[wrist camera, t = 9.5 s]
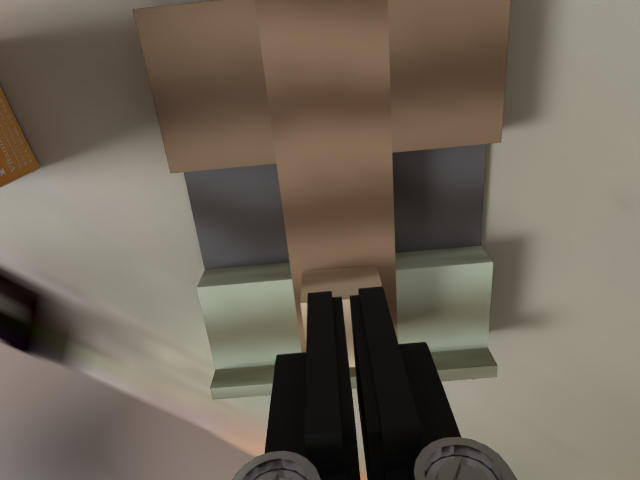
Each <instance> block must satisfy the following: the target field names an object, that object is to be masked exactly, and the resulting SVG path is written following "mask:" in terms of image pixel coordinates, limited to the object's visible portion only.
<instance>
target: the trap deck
mask: <svg viewBox="0 0 640 480" xmlns="http://www.w3.org/2000/svg"><path fill="white" fill-rule="evenodd" d="M510 1H511V0H217V1H208V2H198V3H188V4H179V5H169V6H160V7H150V8H140V9H133V13H134V17H135V21H136V26H137V30H138V34H139V39H140V43H141V47H142V52H143V56H144V60H145V65H146V69H147V74H148V78H149V82H150V87H151V91H152V95H153V100H154V104H155V108H156V113H157V117H158V121H159V126H160V130H161V134H162V139H163V143H164V147H165V152H166V156H167V161H168V165H169V169H170V173H180V172H184V176H185V180H186V185H187V189H188V194H189V199H190V203H191V208H192V212H193V217H194V222H195V226H196V231H197V235H198V240H199V245H200V249H201V254H202V258H203V263H204V268H205V271H204V273H203V275H202V277H201V279H200V281H199V284H198V286H197V291H198V295H199V300H200V304H201V308H202V313H203V317H204V321H205V326H206V330H207V335H208V339H209V343H210V348H211V352H212V356H213V361H214V365H215V369H216V370H215V373H214V377H213V380H212V384H211V387H210V391H211V395H212V399H213V400H214V399H226V398H239V397H251V396H264V395H271V394H272V385H273V377H274V368H275V360H276V356H277V355H278V354H290V353H302V352H306V344H305V336H304V328H303V320H302V312H301V304H300V301H301V282H302V272H303V271H315V270H327V269H338V268H350V267H361V266H373V265H377V268H378V272H379V276H380V279H381V283H382V286H383V288H384V292H385V296H386V299H387V303H388V307H389V311H390V314H391V318H392V322H393V325H394V329H395V333H396V337H397V340H398V344H406V343H417V342H426V343H427V345H428V347H429V349H430V352H431V355H432V358H433V361H434V363H435V366H436V369H437V372H438V374H439V377H440V380H441V381H453V380H466V379H478V378H491V377H497V366H498V365H497V364H496V362H495V360H494V358H493V356H492V355H491V353H490V351H489V349H488V335H489V320H490V305H491V290H492V275H493V261H492V260H491V258H490V257H489V256H488V254H487V253H486V252H485V251H484V249H483V248H482V247H481V230H482V211H483V192H484V173H485V154H486V144H490V143H501V138H502V123H503V108H504V92H505V77H506V62H507V47H508V32H509V17H510ZM349 369H350V379H351V388H357V382H356V370H355V367H349Z"/></svg>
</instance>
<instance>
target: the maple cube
mask: <svg viewBox="0 0 640 480" xmlns="http://www.w3.org/2000/svg"><path fill="white" fill-rule="evenodd" d="M380 286H382V283H381V279H380V276H379V272H378V268H377V265H373V266H361V267H350V268H338V269H327V270H315V271H303V272H302V282H301V301H300V304H301V312H302V320H303V328H304V336H305V344H306V339H307V295H308V293H313V292H324V291H332V297H341V296H342V303H343V312H344V322H345V331H346V341H347V350H348V360H349V367H355V358H354V346H353V333H352V321H351V309H350V296H352V295H359V294H358V288H369V287H380Z"/></svg>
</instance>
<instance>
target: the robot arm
mask: <svg viewBox="0 0 640 480" xmlns="http://www.w3.org/2000/svg"><path fill="white" fill-rule="evenodd" d="M358 294H359V295H352V296H350V309H351V321H352V333H353V346H354V358H355V370H356V382H357V394H358V404H359V412H360V421H361V429H362V437H363V446H364V454H365V462H366V471H367V479H368V480H517V478H516V477H515V475H514V474H513V472H512V470H511V469H510V467H509V466H508V465H507V463H506V462H505V461H504V460H503V459H502V457H501V456H500V455H499V454H498V453H496V452H495V451H494V450H492V449H491V448H489V447H488V446H487V445H485V444H482V443H480V442H477V441H475V440H472V439H467V438H461V435H460V433H459V430H458V427H457V424H456V421H455V419H454V416H453V413H452V410H451V408H450V405H449V402H448V399H447V397H446V394H445V391H444V388H443V385H442V383H441V380H440V377H439V374H438V372H437V369H436V366H435V363H434V361H433V358H432V355H431V352H430V349H429V347H428V345H427V343H426V342H417V343H406V344H398V340H397V337H396V333H395V329H394V325H393V322H392V318H391V314H390V311H389V307H388V303H387V299H386V296H385V292H384V288H383V286H380V287H369V288H358ZM233 480H360V471H359V460H358V448H357V437H356V427H355V417H354V407H353V398H352V388H351V379H350V369H349V360H348V350H347V341H346V331H345V322H344V312H343V303H342V296H341V297H332V291H324V292H313V293H308V295H307V339H306V352H302V353H290V354H278V355H277V356H276V360H275V368H274V377H273V385H272V394H271V403H270V411H269V420H268V429H267V437H266V446H265V454H263V455H260V456H257V457H255V458H254V459H252V460H251V461H249V462H248V463H246V464H245V465H244V466H243V467H242V468H241V469H240V470H239V471H238V472H237V473H236V474H235V476H234V478H233Z"/></svg>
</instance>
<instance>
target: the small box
mask: <svg viewBox="0 0 640 480" xmlns="http://www.w3.org/2000/svg"><path fill="white" fill-rule="evenodd" d="M39 168H40V165H39V163H38V162H37V160H36V158H35V156H34V154H33V153H32V151H31V149H30V147H29V145H28V143H27V141H26V139H25V137H24V135H23V133H22V130H21V128H20V126H19V124H18V122H17V120H16V118H15V116H14V114H13V112H12V110H11V108H10V106H9V103H8V101H7V99H6V97H5V95H4V93H3V90H2V88H1V86H0V188H1V187H3V186H5V185H7V184H9V183H11V182H13V181H15V180H17V179H19V178H21V177H23V176H26V175H28V174H30V173H32V172H34V171H36V170H38V169H39Z"/></svg>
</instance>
